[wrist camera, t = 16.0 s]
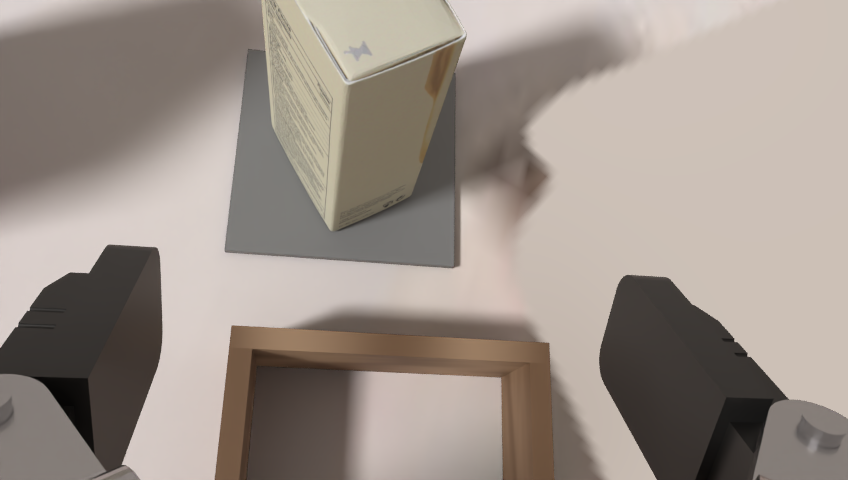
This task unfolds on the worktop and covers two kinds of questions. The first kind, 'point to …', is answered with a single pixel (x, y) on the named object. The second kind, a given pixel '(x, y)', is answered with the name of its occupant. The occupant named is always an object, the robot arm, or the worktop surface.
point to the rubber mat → (298, 216)
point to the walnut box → (317, 349)
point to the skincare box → (358, 95)
